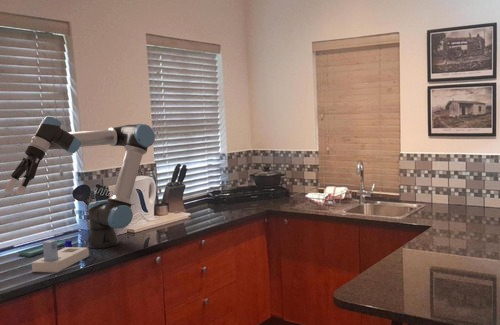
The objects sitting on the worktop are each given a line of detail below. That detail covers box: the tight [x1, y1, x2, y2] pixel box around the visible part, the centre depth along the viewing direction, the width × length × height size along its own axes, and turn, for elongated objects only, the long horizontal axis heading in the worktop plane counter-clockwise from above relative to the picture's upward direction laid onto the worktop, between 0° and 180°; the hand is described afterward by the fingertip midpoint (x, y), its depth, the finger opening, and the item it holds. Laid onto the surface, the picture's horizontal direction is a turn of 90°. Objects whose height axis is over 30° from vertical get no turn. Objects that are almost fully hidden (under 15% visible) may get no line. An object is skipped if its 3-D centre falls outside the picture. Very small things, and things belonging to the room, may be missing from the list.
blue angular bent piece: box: [62, 239, 73, 249], centre depth 236 cm, size 12×4×6 cm, turn 141°
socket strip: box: [31, 246, 90, 274], centre depth 218 cm, size 24×12×5 cm, turn 166°
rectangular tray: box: [17, 239, 67, 258], centre depth 249 cm, size 26×9×2 cm, turn 154°
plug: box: [42, 239, 58, 262], centre depth 210 cm, size 4×5×12 cm
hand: (13, 193), depth 205 cm, fingers open, 13 cm apart
